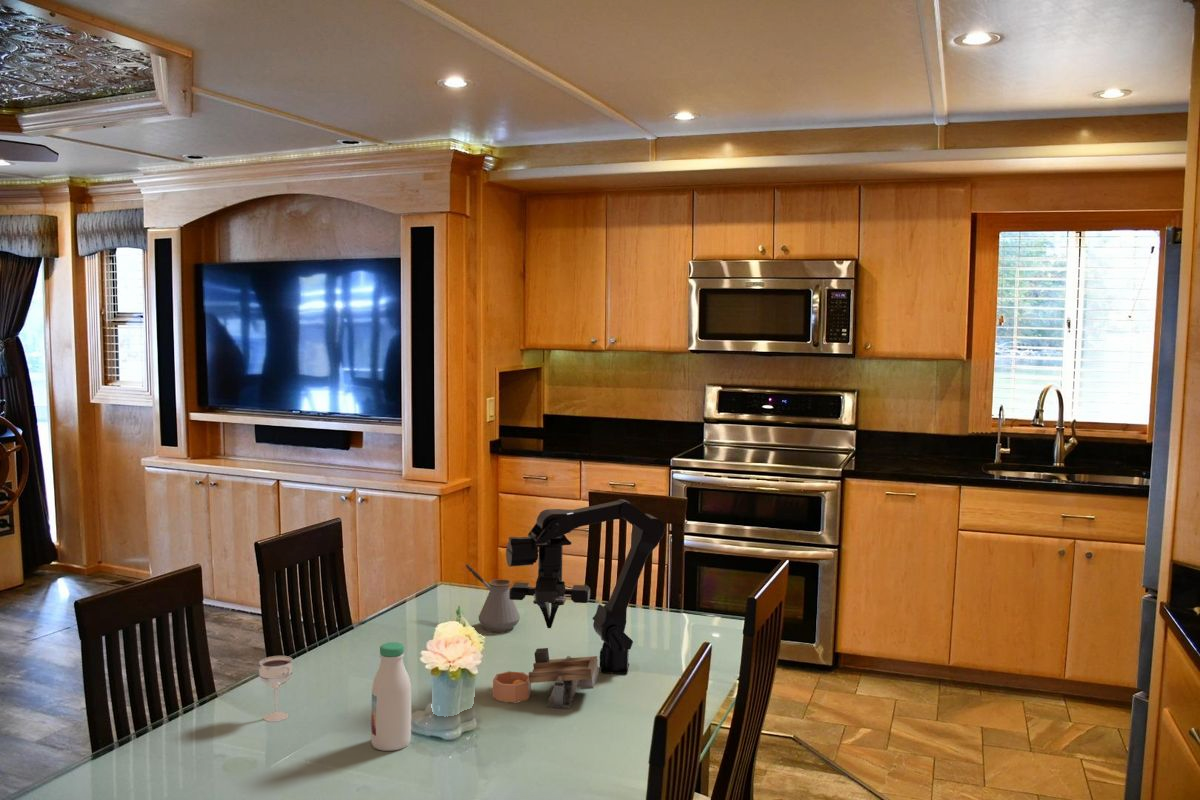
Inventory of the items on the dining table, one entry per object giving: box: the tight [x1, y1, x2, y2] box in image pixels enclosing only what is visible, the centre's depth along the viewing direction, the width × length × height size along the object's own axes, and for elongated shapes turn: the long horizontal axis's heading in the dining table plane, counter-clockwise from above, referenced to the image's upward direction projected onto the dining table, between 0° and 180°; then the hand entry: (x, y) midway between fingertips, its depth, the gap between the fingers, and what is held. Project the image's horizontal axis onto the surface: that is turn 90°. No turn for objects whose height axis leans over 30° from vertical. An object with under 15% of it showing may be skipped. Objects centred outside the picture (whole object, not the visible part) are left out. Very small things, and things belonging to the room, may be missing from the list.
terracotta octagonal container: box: [492, 671, 532, 703], centre depth 208 cm, size 8×8×4 cm
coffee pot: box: [462, 564, 521, 633], centre depth 258 cm, size 21×12×15 cm, turn 46°
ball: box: [512, 680, 524, 685], centre depth 208 cm, size 3×3×3 cm
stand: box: [546, 680, 579, 710], centre depth 209 cm, size 5×15×5 cm, turn 173°
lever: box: [528, 647, 599, 690], centre depth 208 cm, size 14×14×7 cm
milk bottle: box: [370, 641, 412, 752], centre depth 182 cm, size 8×8×20 cm
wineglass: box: [258, 655, 294, 723], centre depth 193 cm, size 7×7×12 cm
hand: (549, 627), depth 219 cm, fingers closed
